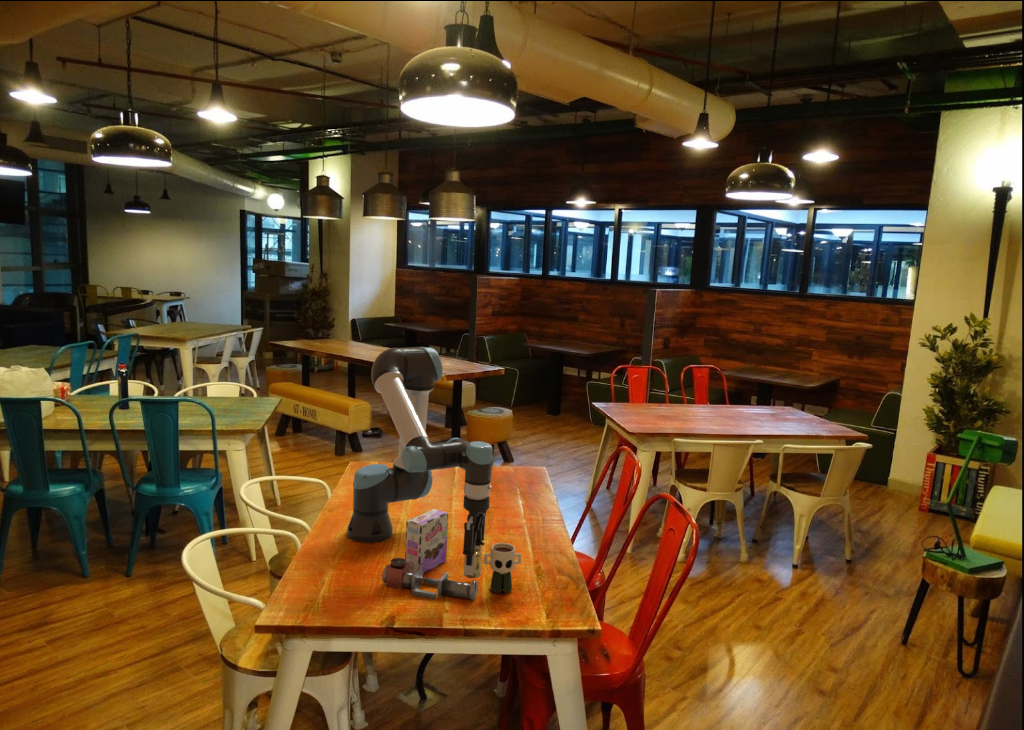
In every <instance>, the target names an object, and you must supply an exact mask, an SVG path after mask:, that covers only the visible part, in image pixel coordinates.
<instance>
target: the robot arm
mask: <svg viewBox="0 0 1024 730" xmlns="http://www.w3.org/2000/svg"><path fill="white" fill-rule="evenodd" d="M441 359H442V358H441V357H440V355H439V352H437V350H436V349H435V348H433V347H425V346H413V347H391V348H387V349H386V350H383V351H382V352H380V353H379V355H377V357H376V358H375V360H374V361H373V363H372V367H371V372H370V373H371V374H370V377H371V378H370V379H371V383H372V385H373V388H374V389H375V391H376V392H377V393H378V394H380V395H381V397H382V400H383V402H384V404H385V406H386V408H387V411H388V413H389V415H390V418H391V419H392V423H393V424H394V426H395V429H396V432H397V433H398V435H399V440H398V441H399V443H398V456H397V457H396V458H394V459H393V463H392V464H393V465H392V467H391V468H390V467H389V466H388V465H387V464H383V463H378V464H377V463H373V464H368V465H364V466H362V467H359V468H358V469H357V470H356V471H355V472H354V475H353V482H352V487H353V488H352V489H353V494H352V496H353V498H352V499H353V500H352V503H353V504H352V515H351V517H350V520H349V523H348V525H347V531H346V532H347V533H346V534H347V535H346V536H347V538H348V539H350V540H351V541H353V542H357V543H362V544H363V543H364V544H366V543H367V544H369V543H370V544H371V543H380V542H385V541H387V540H389V539H390V538H392V536H393V534H394V533H393V531H394V530H393V529H394V527H393V524H392V521H391V517H390V515H389V504H391V503H397V502H404V501H411V500H413V501H414V500H417V499H420V498H425V497H426V496H428V494H429V493H430V492H431V489H432V486H433V475H432V474H433V471H435V470H442V469H443V470H444V469H450V468H451V469H452V468H460V469H462V470H463V471H464V472H465V473H464V475H465V476H464V488H463V494H464V496H463V504H462V505H463V509H465V511H467V512H468V514H467V517H466V521H467V522H466V521H465V522H464V524H463V525H464V526H463V527H464V529H463V530H464V533H463V550H462V554H463V555H464V560H465V574H466V575H471V576H474V568H475V554H474V551H475V549H477V550H479V551H481V552H482V546H485V542H483V541H485V532H486V531H485V530H486V529H485V527H486V516H487V511H488V510H489V509H490V501H491V499H490V495H491V490H492V489H493V487H492V485H491V482H492V481H491V480H492V472H493V471H492V469H493V459H494V456H493V446H492V445H491V444H490V443H488V442H485V441H479V440H476V441H471V442H469V441H467V440H465V439H462V438H459V437H451V438H450V439H448V440H447V441H446V442H440V443H432V441H431V439H430V438H429V436H428V434H427V431H426V430H427V420H428V408H429V398H430V393H431V392H432V391H433V390H434V389H435V383H437V382H439V381H440V380H441V379H442V377H443V362H442V360H441ZM465 555H466V557H465Z"/></svg>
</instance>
